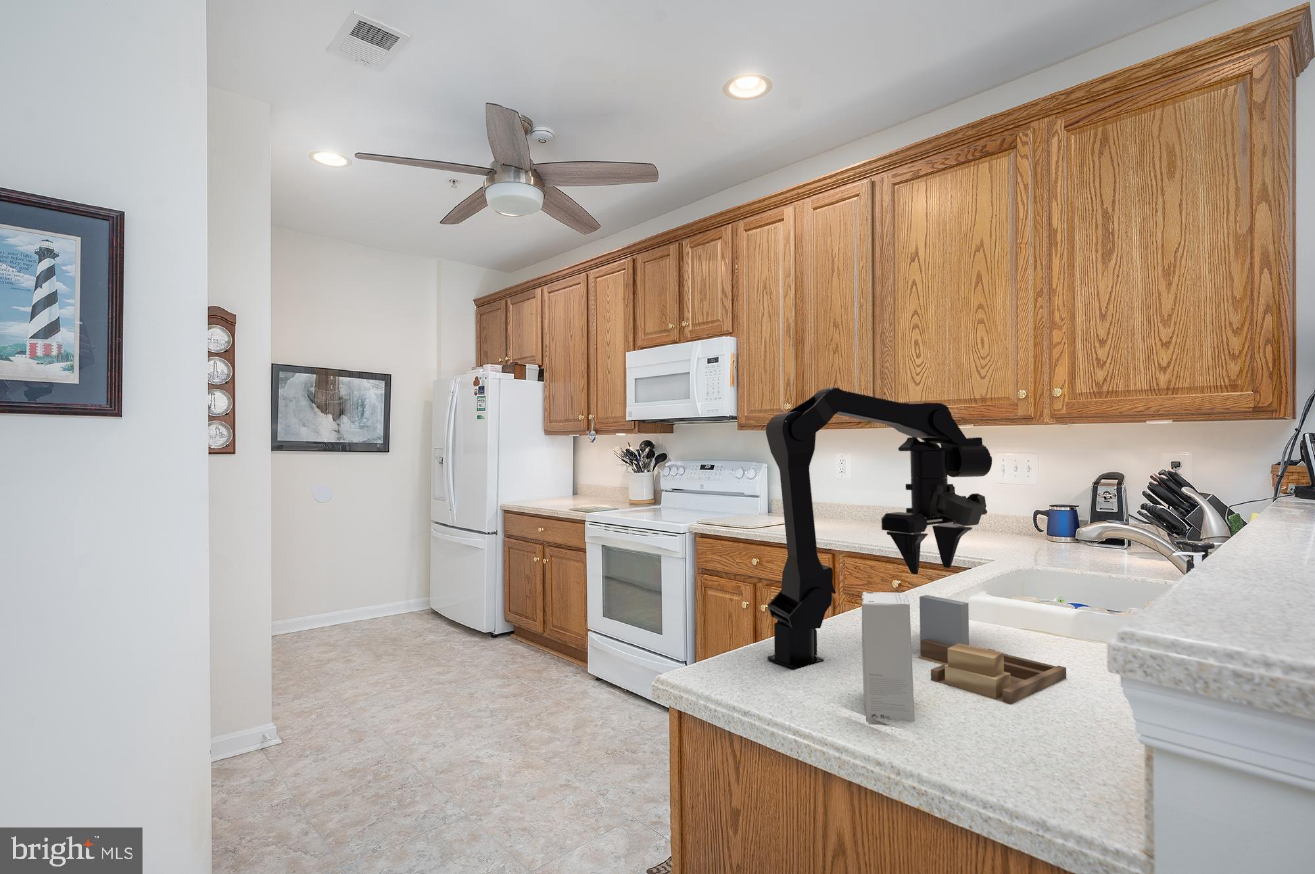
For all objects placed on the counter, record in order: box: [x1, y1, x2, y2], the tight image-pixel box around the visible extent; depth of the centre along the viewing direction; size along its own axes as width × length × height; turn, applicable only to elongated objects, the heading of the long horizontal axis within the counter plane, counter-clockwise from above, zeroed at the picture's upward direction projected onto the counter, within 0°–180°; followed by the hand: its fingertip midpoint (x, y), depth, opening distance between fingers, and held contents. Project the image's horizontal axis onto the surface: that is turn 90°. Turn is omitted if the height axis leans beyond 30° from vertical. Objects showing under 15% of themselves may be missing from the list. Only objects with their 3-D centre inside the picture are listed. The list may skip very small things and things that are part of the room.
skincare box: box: [861, 591, 916, 726], centre depth 83 cm, size 8×6×15 cm
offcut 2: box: [944, 665, 1011, 700], centre depth 89 cm, size 4×7×2 cm, turn 36°
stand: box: [916, 639, 952, 666], centre depth 102 cm, size 7×5×4 cm
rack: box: [930, 648, 1067, 705], centre depth 92 cm, size 16×11×2 cm
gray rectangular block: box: [918, 594, 970, 654], centre depth 102 cm, size 2×7×9 cm, turn 35°
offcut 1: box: [948, 643, 1005, 677], centre depth 89 cm, size 4×6×2 cm, turn 44°
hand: (931, 570), depth 109 cm, fingers open, 9 cm apart
